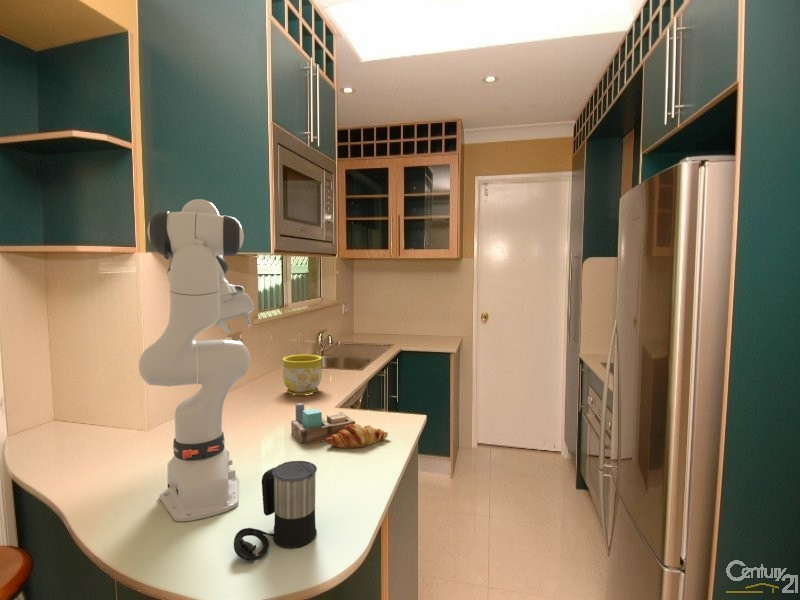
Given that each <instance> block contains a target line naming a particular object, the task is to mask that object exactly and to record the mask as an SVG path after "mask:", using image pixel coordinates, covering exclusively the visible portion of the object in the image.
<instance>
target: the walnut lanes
mask: <svg viewBox="0 0 800 600" xmlns="http://www.w3.org/2000/svg"><path fill="white" fill-rule="evenodd" d="M338 413H341V414H342V415H344V416H345V422H342V423H336V424H331V425H330V424H329V423H327V420H325V419H323V418H322V426H320V427H315V428H310V429H305V428H303V427H302V426H301V425H300V424H299V423H298V422H297V421H296V419H294V420H291V421H290V422H291V423H290V426H291V427H290V428H291V434H292V436H294V438H295V437H296V438H297V439H298V440H299V441H300V442H301V443H300V442H299V441H298V440H297V439H296V438H295V439H296V440H297V441H298V442H299V443H300V444H301V445H302V444H305V445H309V444H308V443H310V444H314V443H313V442H315V443H318V441H319V442H323V441H322V440H324V441H326V438H329V437H330V436H332V435H334V434H337V433H338V432H339V431H340V430H344V428H345V427H346V426H347V425H350V424H356V421H355V420H354V419H352V418H351V417H349V416H348V415H346V414H345V413H344V412H343V411H341V412H338Z"/></svg>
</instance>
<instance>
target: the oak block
mask: <svg viewBox="0 0 800 600" xmlns="http://www.w3.org/2000/svg"><path fill="white" fill-rule="evenodd" d="M326 422H327V423H329V424H330V425H331V424H336V423H342V422H345V416H344V415H342V414H341V413H339V412H337V413H332V414H326Z"/></svg>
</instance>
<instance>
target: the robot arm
mask: <svg viewBox="0 0 800 600" xmlns="http://www.w3.org/2000/svg"><path fill="white" fill-rule="evenodd" d="M147 237H148V240H149V242H150V245H151V247H152V248H153V249H154V250H155V252H156V253H158V254H160V255H162V256H163V257H164V259H165V260H166V261H169V267H168V269H167V272H166V273H167V280H168V283H169V297H170V298H169V307H170V308H169V318H168V324H167V325H166V328H165V330H164V331H163V333H162V334H161V336H160V337H159V338H158V339H157V340H156V341H155V342H154V343H152V344H151V345H149V346H147V348H146V349H145V350H144V351H143V352H142V354H140V355H141V356H140V358H139V361H138V371H139V372H138V373H139V374H140V377H141V378H142V380H143V381H144V382H145V383H146V384H148V385H149V386H158V387H178V386H189V385H191V386H192V385H200V386H201V387H200V389H199V390H198V391H197V392H196V393H194V394H193V395H191V396H189V397H188V398H186V399H184V400H182V401H181V402H180V403H179V404H178V405H177V407H176V408H175V411H174V435H175V436H174V438H173V444H172V449H173V455H174V456H173V457H172V458H171V459H170V460H169V462H167V467H166V468H167V473H166V474H167V478H166V479H167V488H166V489H164V490H163V491H161V492H160V493H159V500H160V502H161V503H162V504H163V506H164V507H165V509H166V510H167V512H168V513H169V514H170V516H171V517H172V518H173V521H175V522H188V521H189V522H190V521H195V520H201V519H205V518H209V517H213V516H217V515H219V514H220V515H221V514H223V513H225V512H227V511H228V512H229V511H230V510H232V509H234V508H236V507H237V506H238V505H239V483H240V482H239V476H238V475H236V469H230V466H233V459H230V451H229V450H228V449H226V447H225V445H226V444H225V442H226V441H225V436H224V435H225V434H224V432H223V410H224V409H223V408H224V403H225V400H226V397H227V395H228V393H229V391H230V389H232V387H233V386H234V385H235V384H236V382H238V380H240V379H241V378H242V377H244V376H245V374H246V373H247V372H248V370H249V369H250V365H251V354H250V350H249V349H248V347H247V346H246V344H244V343H243V342H242V341H239V340H233V339H224V338H223V339H209V340H194V339H195V338H196V336H198V334H200V333H202V332H204V331H206V330H208V329H209V328H211V327H213V326H214V325H216V324H217V327H219V328H220V329H222V330H223V331H224V333H225V334H229V333H230V332H231V331H232V329H231V327H230V325H229V326H228V325H227V324H225V321H229V320H232V319H237V318H238V317H243V319H245V321H244V322H243V324H244V326H245V327H250V326H252V324H253V323H252V321H251V313H252V312H254V311H255V304H254V302H253V300H252V299H251V297H250V295H249V294H248V293H246V292H245V291H246V289H245V287H244V286H243V285H242V286H241V285H235V284H232V283H231V284H230V283H229V280H227V279H226V277H225V276H226V275H227V272H228V271H229V266H228V264H227V261H226V260H225V258H224V257H231V256H232V257H233V256H236V255H237V254H238V253H239V252H240V251H241V250H240V249H241V248H242V246H243V243H244V237H245V235H244V230H243V228H242V225H241V222H240V221H239V220H238V219H237V218H236V217H234V216H233V217H232V216H230V215H226V214H225V215H224V214H223V215H220V212H219V211H218V209H217V208H216V206H215V205H214V204H213V202H210V201H208V200H206V199H200V198H197V199H196V198H195V199H192V200H189V201H188V202H187V203H185V204H184V205H183V207H182V209H181V211H171V212H170V211H169V210H165V211H163V210H162V211H157V212H155V213H154V214H153V215H152V216H151V217H150V220H149V223H148V226H147ZM223 256H224V257H223Z"/></svg>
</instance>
